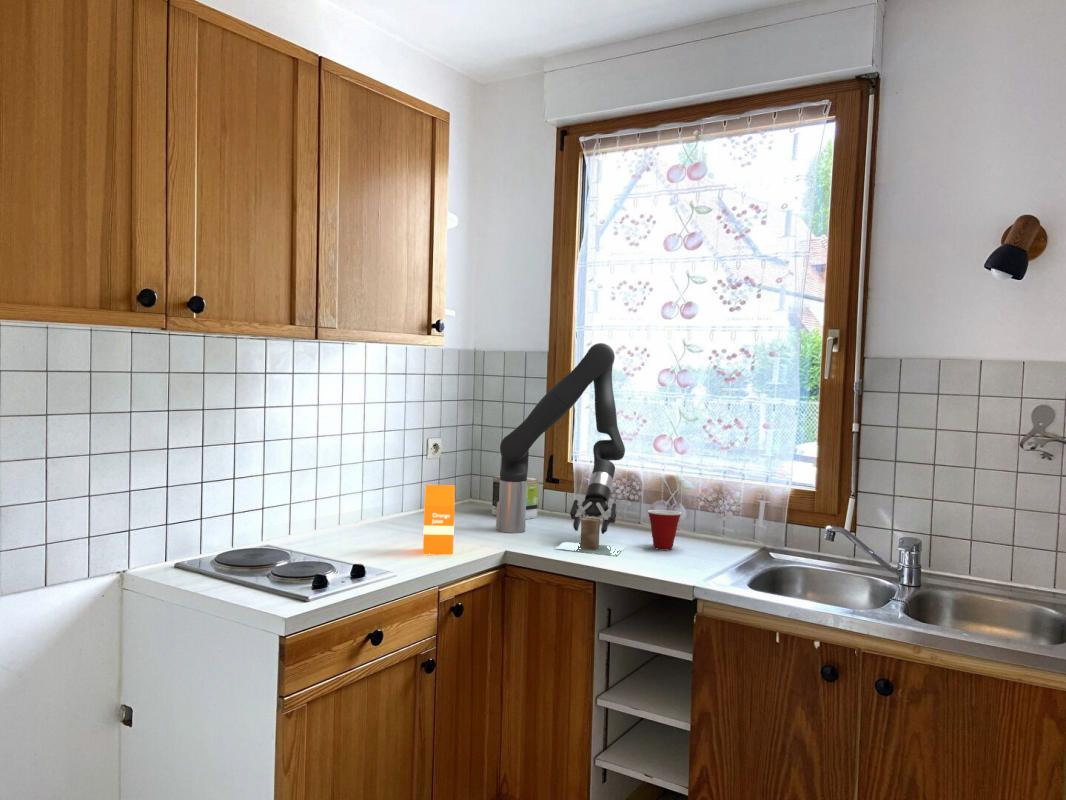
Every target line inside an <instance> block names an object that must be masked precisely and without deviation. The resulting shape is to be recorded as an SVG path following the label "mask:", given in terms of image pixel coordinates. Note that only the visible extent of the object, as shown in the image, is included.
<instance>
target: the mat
mask: <svg viewBox="0 0 1066 800" xmlns="http://www.w3.org/2000/svg"><path fill="white" fill-rule="evenodd" d="M579 544H580V542H579ZM607 546H609V547H610V546H611V545H605V544H599V548H598V549H597V550H590V549H579V548H580V547H579V546H578V549H577V550H576V551H578V550H579V551H578V552H577V553H583V552H586V553H585V554H592V553H595V554H594V555H601V554H605V555H604V556H610V555H611V554H612V553H610V551H611V547H610V550H609V549H608V548H607ZM615 550H616V549H615ZM574 551H575V550H574ZM574 551H573V552H574ZM619 551H620V550H619ZM619 551H617V553H618V552H619ZM614 552H615V551H614ZM614 552H613V553H614ZM615 555H616V554H615Z"/></svg>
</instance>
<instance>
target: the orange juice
mask: <svg viewBox="0 0 1066 800" xmlns="http://www.w3.org/2000/svg"><path fill="white" fill-rule="evenodd" d="M455 490H456V485H452V484H450V485H449V484H443V485H442V484H426V485H425V491H424V508H423V509H424V512H423V515H424V516H423V540H422V541H423V544H422V545H423V546H422V555H423V554H429V553H430V554H453V555H454V532H455V501H456V500H455V498H456V497H455V495H456V493H455V492H456V491H455Z"/></svg>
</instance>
